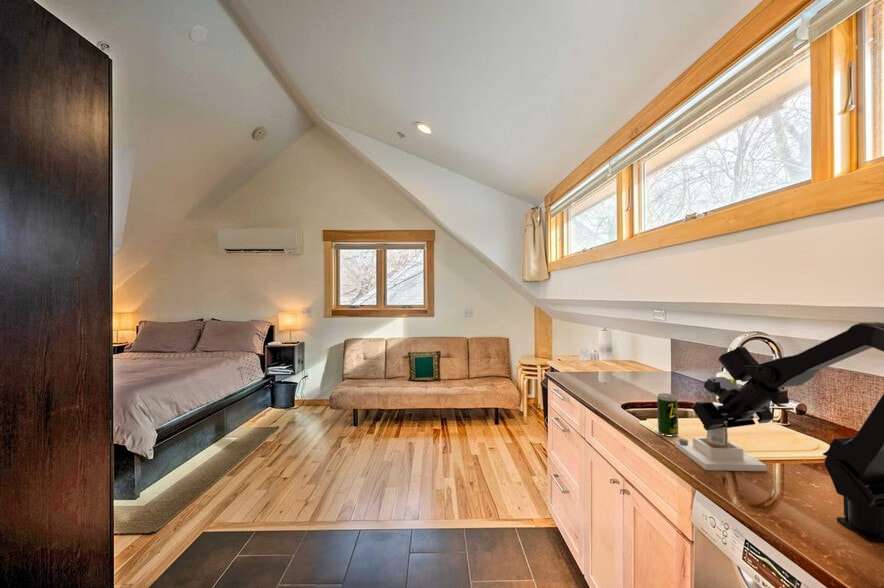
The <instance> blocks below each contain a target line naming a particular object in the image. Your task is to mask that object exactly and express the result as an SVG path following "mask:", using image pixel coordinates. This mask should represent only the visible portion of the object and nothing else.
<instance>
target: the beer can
mask: <svg viewBox="0 0 884 588" xmlns="http://www.w3.org/2000/svg"><path fill="white" fill-rule="evenodd" d="M656 400H657V404H656V405H657V429H658V430H657V431H658V433H659V434H660V435H661V434H664V435H672V436H676V437H678V435H679V410H678V409H679V407H678V398H677V395H675V394H672V393H664V392H662V393H658V394H657V399H656ZM664 435H663V436H664Z"/></svg>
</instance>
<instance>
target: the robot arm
mask: <svg viewBox="0 0 884 588" xmlns="http://www.w3.org/2000/svg"><path fill="white" fill-rule="evenodd" d="M872 348H873V349H876V350H879V351H880V352H883V353H884V322H880V321H873V322H871V321H870V322H869V321H868V322H858V323H855V324H853V325H851V326H850V327H849V328H848V329H846V330H843V331H841V332H839V333H837V334H836V335H833V336H831V337H829V338H827V339H825V340H823V341H820V342H818V343H817V344H815V345H813V346H812V345H811V346H810V347H808V348H806V349H804V350H802V351H800V352H798V353H795V354H792V355H788V356H783V357H778V358H773V359H771V360H766V361H764V362H762V363H759V362H758V361H757V360H756V359H755V357H753V356H752V354H751V353H750V351H749V350H748V349H747V348H746V346H737V347H736V348H734V349H731V350H729V351H727V352H725V353H723V354H721V355H720V356H719V358H718V361H719V363H720V364H721V365H722V367H723V368H724V369H725V370H726V372H727V373H728V374H729V375H730V376H731V378H732V379H733V380H734V381H740V382H742V383H743V382H744V384H743V385H741V386H740V387H739V386H738V384H735V383H734V382H733V381H731V380H730V379H728V377H725V376H715V377H713V376H712V377H710V378H707V380H705V381H704V384H703V387H704V389H705V390H706V391H708V392H709V393H710V394H714V395H715V396H717V397H718V398H717V402H718V403H720V404H723V406H718V409H717V408H716V407H715V405H714V404H713V403H712V401H708V400H705V401H696V402H695V403H694V404H693V405H692V406H691V409H692V410H693V412H694V413H695V415H696V416H697V417H698V419H699V420H700V422H701V423H702V425H703V428H704V431H707V430H712V429H719V428H725V427H727V429H732V428H738V427H746V426H754V425H756V422H755V420H754V419H755V416H754V415H755V414H756V416H757V417H758V419H757V423H759V424H767V423H770V422H771V421H773V419H774V413H773V412H772V411H771V410H770V409H769V408H768V406H767V405H768V404H770V403H771V402H772V403H773V404H774V405H787V404H789V403H790V399H789V397H788V392H787V391H783V390H782V389H781V388H792V387H793V388H794V387H800V386H803V385H804V384H805V383H807V382H808V381H810V380H811V379H813V378H814V376H815V375H816V374H817V373H818V372H819V371H820V370H822V369H825V368H827V367H829V366H832V365H834V364H836V363H838V362H841V361H844V360H846V359H848V358H851V357H854V356H855V355H857V354H860V353H863V352H866V351H867V350H870V349H872ZM725 422H727V426H726V425H725ZM822 455H823V456H825V458H824V461H823V464H824V465H823V466H824V467H825V468H826V470H827V472H828V474H829V475H830V479H831V481H832V484H833V486H834V488H835V491H836V493H837V495H840V496H842V497H843V516H841V517H840V516H837V517H836V521H837V522H839V523H840V524H842V525H843V526H845V527H847V528H849V529H850V530H851V531H853V532H855V533H856V534H858V535H860V536H861V537H863V538H865V539H866V540H867V541H869V542H873V543H884V393H883V394H882V395H881V396H880V398H879V399H878V401H877V403H876V404H875V406H874V407H873V409H872V410H871V411H870V414H869V415H868V416H867V417H866V419H865V420H864V423H863V424H862V426H861V427H860V428H859V430H858V431H857V433H856V434H855V436H847V437H840V438H839V437H838V438H834V439H833V440H832V441H831V442H830V445H829V447H828V449H827V450H826V452H823V453H822Z"/></svg>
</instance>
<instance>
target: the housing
mask: <svg viewBox="0 0 884 588" xmlns="http://www.w3.org/2000/svg"><path fill="white" fill-rule="evenodd" d="M674 446H675V448H676V449H677V450H679V451H680V452H681V453H682V454H684V455H685V456H687V457H688V458H689V459H690V460H692V461H693V462H694V463H696V464H697V465H699V467H701V468H702V469H703V470H705V471H734V472H735V471H736V472H738V471H739V472H767V469H768V468H767V464H765V463H764V462H762V461H760V460H758V459H757V458H755V457H753V456H752V455H749V454H748V453H746V452H745V451H744V449H743V448H742V447H740V446H738V445H737V444H735V443H733V442H732V441H730V440H728V444H727V448H712V447H710V446H709V445H707V436H706V437H704V436H703V437H702V436H701V437H700V436H699V437H698V436H697V437H696V436H695V437H694V436H692V441H688V440H687V439H686V438H680V439H679V441H675V442H674Z"/></svg>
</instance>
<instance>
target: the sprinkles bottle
mask: <svg viewBox="0 0 884 588" xmlns="http://www.w3.org/2000/svg"><path fill="white" fill-rule="evenodd" d="M711 402H712V401H711ZM712 403H713V404H714V405H715V407H716V408H717V409H718V406H723V404H720V403H719V402H716V401H715V402H714V401H713V402H712ZM725 425H726V426H727V422H725ZM706 437H707V445H709V446H710V447H712V448H727V444H728V441H729V438H728V437H729V436H728V428H727V427H725V428H719V429H712V430H706Z"/></svg>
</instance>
